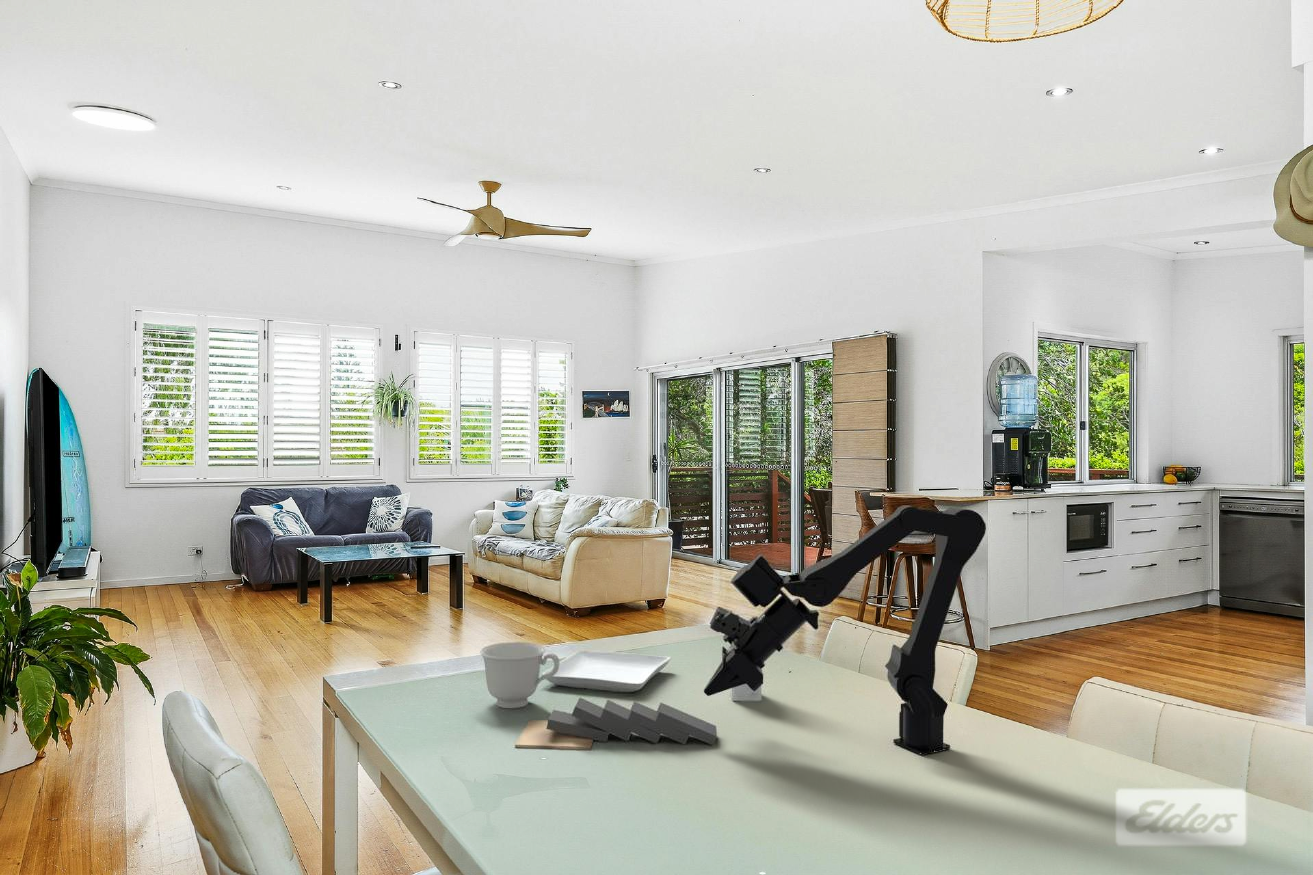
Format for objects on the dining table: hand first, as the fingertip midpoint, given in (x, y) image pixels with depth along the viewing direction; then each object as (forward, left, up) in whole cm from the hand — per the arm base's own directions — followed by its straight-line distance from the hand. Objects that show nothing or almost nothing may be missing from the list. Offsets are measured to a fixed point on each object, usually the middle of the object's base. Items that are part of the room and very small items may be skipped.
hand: (705, 693), depth 138 cm
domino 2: (+6, +10, -7) cm, 14 cm away
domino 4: (+2, +3, -7) cm, 7 cm away
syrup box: (+16, -20, -8) cm, 27 cm away
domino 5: (-1, -1, -7) cm, 7 cm away
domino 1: (+8, +13, -7) cm, 17 cm away
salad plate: (+39, -2, -8) cm, 40 cm away
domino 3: (+4, +6, -7) cm, 10 cm away
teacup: (+31, +20, -8) cm, 38 cm away
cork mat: (+13, +20, -8) cm, 25 cm away
